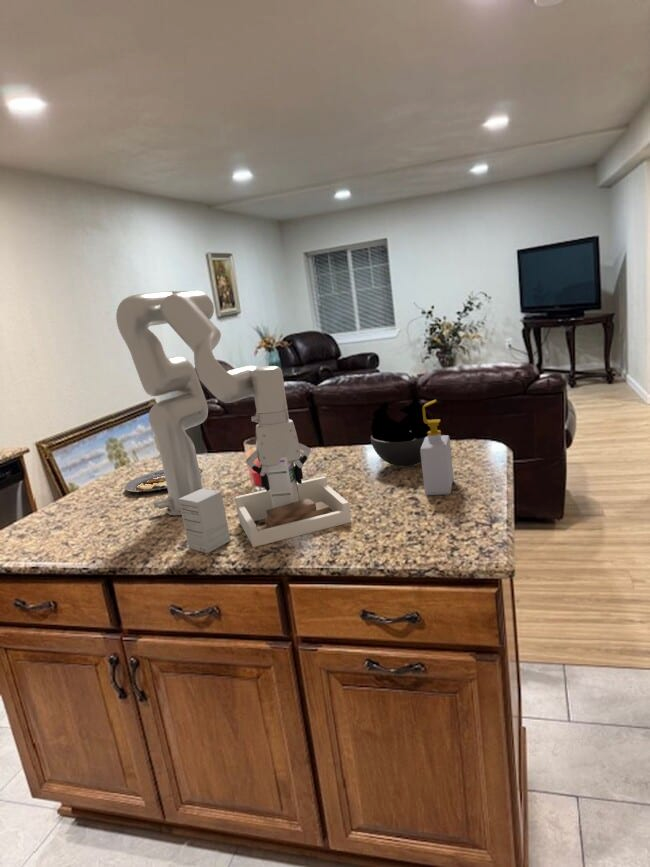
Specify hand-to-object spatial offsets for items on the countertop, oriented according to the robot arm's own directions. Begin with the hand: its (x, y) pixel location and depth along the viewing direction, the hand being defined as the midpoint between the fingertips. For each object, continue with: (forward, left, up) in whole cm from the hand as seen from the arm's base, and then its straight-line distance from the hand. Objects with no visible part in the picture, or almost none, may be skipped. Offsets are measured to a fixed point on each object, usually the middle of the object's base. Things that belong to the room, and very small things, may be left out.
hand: (283, 485), depth 150 cm
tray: (0, -4, -9) cm, 10 cm away
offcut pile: (0, -7, -9) cm, 12 cm away
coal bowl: (+42, +19, -9) cm, 47 cm away
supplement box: (-21, -5, -9) cm, 23 cm away
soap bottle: (+40, -5, -9) cm, 42 cm away
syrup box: (0, 0, -7) cm, 7 cm away
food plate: (-28, +59, -9) cm, 66 cm away
